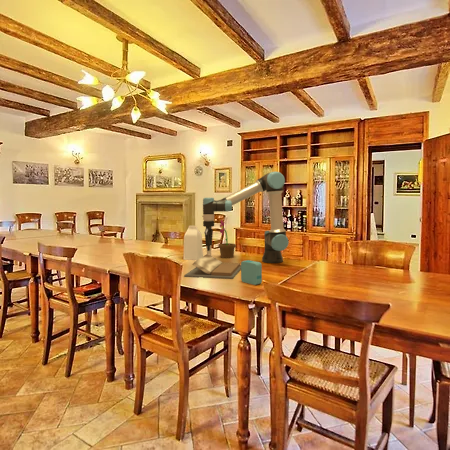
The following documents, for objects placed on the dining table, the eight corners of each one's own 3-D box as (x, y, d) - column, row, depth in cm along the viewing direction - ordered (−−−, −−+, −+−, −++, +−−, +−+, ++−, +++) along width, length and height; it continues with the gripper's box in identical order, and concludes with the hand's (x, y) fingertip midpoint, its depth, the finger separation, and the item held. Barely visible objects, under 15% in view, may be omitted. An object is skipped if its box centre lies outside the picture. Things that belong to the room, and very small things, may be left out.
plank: (221, 264, 231) (222, 262, 230) (209, 274, 202) (210, 271, 201) (206, 256, 233) (207, 253, 232) (192, 264, 204) (193, 262, 203)
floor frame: (243, 266, 230) (243, 262, 230) (232, 279, 196) (232, 273, 196) (201, 265, 237) (201, 261, 237) (184, 276, 203) (184, 271, 203)
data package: (262, 284, 184) (261, 262, 183) (256, 285, 181) (256, 263, 180) (246, 280, 193) (246, 259, 192) (240, 281, 190) (240, 260, 189)
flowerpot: (216, 256, 271) (215, 219, 269) (232, 255, 276) (232, 218, 273) (221, 259, 258) (220, 220, 255) (238, 258, 262) (238, 220, 260)
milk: (183, 259, 259) (182, 226, 256) (189, 257, 270) (188, 225, 267) (197, 260, 255) (197, 226, 253) (203, 257, 266) (202, 225, 264)
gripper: (206, 219, 232) (206, 253, 234) (200, 221, 219) (200, 256, 221) (216, 219, 230) (216, 253, 232) (211, 221, 218) (211, 257, 220)
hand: (209, 255), depth 227 cm, fingers closed
